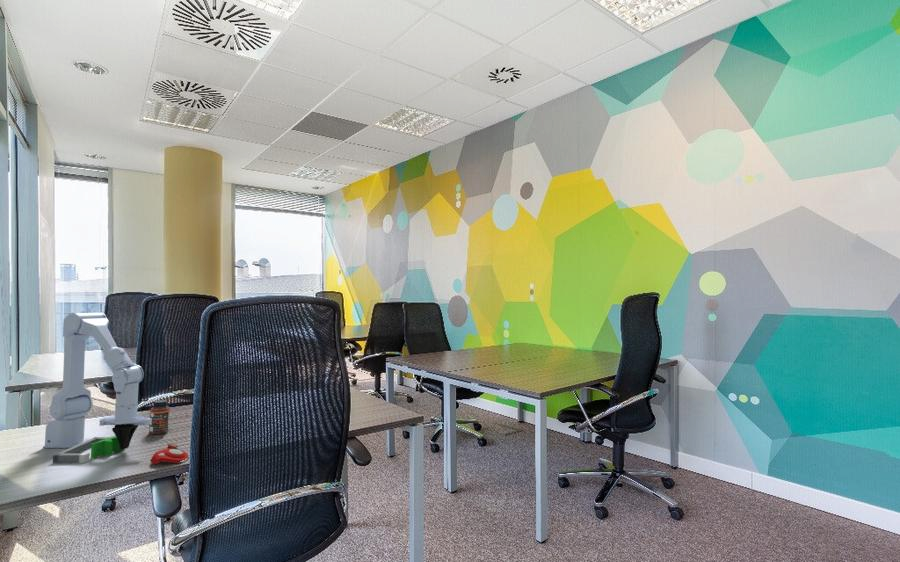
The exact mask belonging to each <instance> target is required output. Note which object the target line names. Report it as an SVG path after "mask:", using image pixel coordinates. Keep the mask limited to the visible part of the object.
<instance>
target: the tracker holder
mask: <svg viewBox="0 0 900 562" xmlns="http://www.w3.org/2000/svg"><path fill="white" fill-rule="evenodd" d="M166 444H167V448H163V449H160V450H157V451H156V452H155V453H154V454H153V455H152V456H151V458H150V463H151V464H152V465H153V466H156V465H158V464H159V463H161V462H165V463H173V464H179V463H178V462H180V461H182V460H185V459H186V458H188V459H189V457H188V455H189V453H187V452H186V451H184V450H181V449H179V447H178V445H177V444H175V443H169V442H166Z"/></svg>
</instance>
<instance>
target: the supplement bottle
mask: <svg viewBox="0 0 900 562" xmlns="http://www.w3.org/2000/svg"><path fill="white" fill-rule="evenodd" d="M170 409H171V408H170V406H169V405H168V400H165V399H158V400H155V401H154V402H153V407H151V408H150V413H149V418H152V421H151V424H150V425H148V426H149V428H148V431H149V434H151V435H161V433H162V434H165V433H168V431H169V427H170V411H171V410H170Z"/></svg>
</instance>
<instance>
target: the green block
mask: <svg viewBox="0 0 900 562" xmlns="http://www.w3.org/2000/svg"><path fill="white" fill-rule="evenodd" d="M109 437H110V438H107V439H104V440H101V441H98V442H95V443H92V444H91V448H90V459H97V458H99V457H103V456H112V455H113V453H114V452H121V450H123V451H125V450H126V449H120V446H119V442H118V439H117V437H116V435H115V434H114V435H113V436H112V435H111V436H109Z"/></svg>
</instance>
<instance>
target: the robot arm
mask: <svg viewBox="0 0 900 562" xmlns="http://www.w3.org/2000/svg"><path fill="white" fill-rule="evenodd" d="M109 323H110V321H109V319H108V318H107V315H106V314H105V312H102V311H97V312H70V313H68V315H67V316H65V317H64V318H63V327H62V337H63V338H64V341H63V342H64V343H63V344H64V348H63V350H64V351H63V373H62V388H61V389H60V390H58V391H57V392H56V393H54V394H53V395H52V400H51V403H50V405H49V415H50V416H51V417H52V418H50V419H49V420H48V421H47V424H46V426H45V435H44V445H43V446H42V448H44V449H69V448H71V447H73V446H76V445H78V444H80V443H83V442H85V441H87V440H90V439H91V438H85V423H86V416H88V414H89V412H90V411H91V410H92V408H93V403H94V402H93V399H92V392H91V390H90V389H88V388H86V387H85V386H84V385H85V384H84V380H85V378H84V377H85V356H86V355H85V353H86V340H87V339H88V338H90V337H92V338H93V340H95V342H96V343H97V344H98V345H99V346H100V348H101V349H102V350H103V351H104V355H103V360H104V361H105V364H107V367H108V368H109V369H110V370H111V372H112V374H113V375H112V376H111V381H112V383H113V386H114V387H113V388H114V392H115V408H114V417H103V418H101V419H99V426H100V427H101V426H103V427H104V426H114V427H112V428H111V431H112V432H113V434H114V436H115V435H116V437H117V439H118V442H119V446H120V449H125V450H126V449H128V448H129V447H130V444H131V441H132V438H133V436H134V433H135V432H136V430H137V428H138V427H139V426H145V427H148V426H149V425H150V424H151V421H152V418H150V417H143V416H138V404H139V403H138V401H139V384H140V383H141V382H142V381H143V379H144V375H145V372H144V369H143V367H142V366H140V365H139V364H137V363H135V362H133V361H132V359H131V358H130V356H129V355H128V354H127V352H126V350H125V349H124V348H123V347H119V346H117V344H116V342H115V339H114V338H113V336H112V333H111V331H110V330H109ZM99 426H98V427H99Z"/></svg>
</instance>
